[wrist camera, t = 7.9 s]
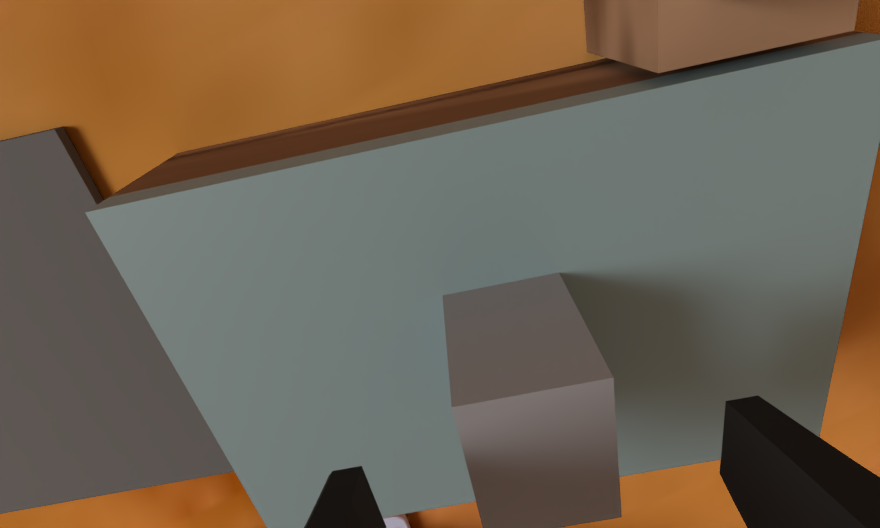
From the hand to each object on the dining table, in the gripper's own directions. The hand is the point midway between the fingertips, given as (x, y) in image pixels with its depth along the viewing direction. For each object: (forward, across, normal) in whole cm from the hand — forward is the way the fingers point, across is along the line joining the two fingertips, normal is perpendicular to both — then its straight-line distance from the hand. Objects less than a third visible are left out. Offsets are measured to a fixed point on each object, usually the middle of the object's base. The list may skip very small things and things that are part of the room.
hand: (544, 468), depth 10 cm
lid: (+5, 0, 0) cm, 5 cm away
